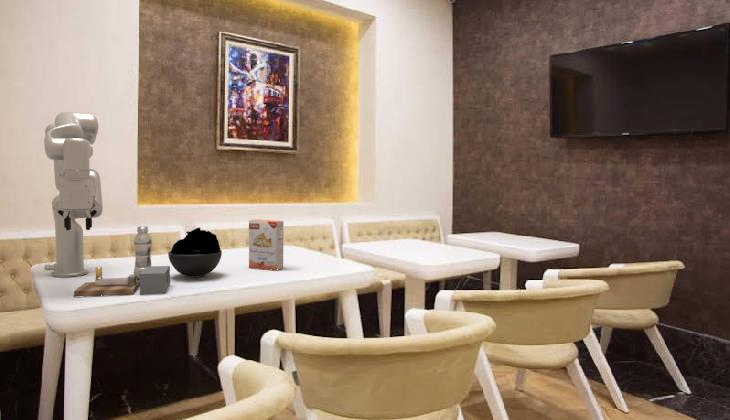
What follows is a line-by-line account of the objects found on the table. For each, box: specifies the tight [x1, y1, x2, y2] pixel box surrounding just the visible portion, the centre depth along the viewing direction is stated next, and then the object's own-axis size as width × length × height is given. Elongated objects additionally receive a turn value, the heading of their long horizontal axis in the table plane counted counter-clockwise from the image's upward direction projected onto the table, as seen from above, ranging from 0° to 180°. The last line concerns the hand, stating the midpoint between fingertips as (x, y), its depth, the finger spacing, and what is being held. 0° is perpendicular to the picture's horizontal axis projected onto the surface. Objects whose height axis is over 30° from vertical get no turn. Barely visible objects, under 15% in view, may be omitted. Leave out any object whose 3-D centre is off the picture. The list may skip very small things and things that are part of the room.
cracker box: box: [248, 218, 284, 271], centre depth 227 cm, size 14×6×21 cm, turn 68°
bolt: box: [94, 266, 128, 285], centre depth 182 cm, size 12×2×6 cm, turn 104°
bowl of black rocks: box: [167, 227, 223, 278], centre depth 208 cm, size 20×20×19 cm
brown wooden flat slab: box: [73, 273, 140, 297], centre depth 181 cm, size 18×14×5 cm
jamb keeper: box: [139, 265, 171, 295], centre depth 185 cm, size 8×14×7 cm, turn 14°
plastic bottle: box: [133, 226, 153, 280], centre depth 202 cm, size 6×7×20 cm
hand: (78, 229), depth 178 cm, fingers open, 5 cm apart
